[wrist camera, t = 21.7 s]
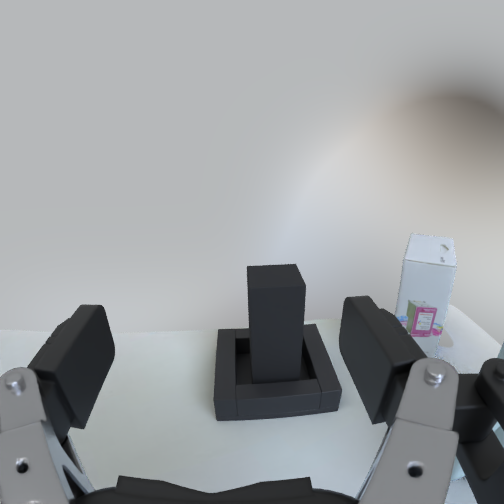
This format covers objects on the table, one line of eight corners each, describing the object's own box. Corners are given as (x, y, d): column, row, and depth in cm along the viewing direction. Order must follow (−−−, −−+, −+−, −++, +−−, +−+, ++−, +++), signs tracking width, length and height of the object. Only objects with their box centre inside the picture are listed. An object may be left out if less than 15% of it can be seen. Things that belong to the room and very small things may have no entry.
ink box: (394, 326, 34) (410, 229, 30) (432, 333, 32) (454, 236, 28) (380, 369, 27) (403, 255, 23) (427, 379, 25) (460, 265, 21)
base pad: (216, 421, 23) (213, 400, 22) (220, 349, 32) (218, 329, 31) (337, 411, 23) (342, 389, 22) (313, 343, 32) (315, 323, 31)
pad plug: (252, 391, 25) (248, 287, 22) (250, 362, 29) (246, 265, 26) (299, 387, 25) (306, 284, 22) (292, 359, 29) (296, 263, 26)
